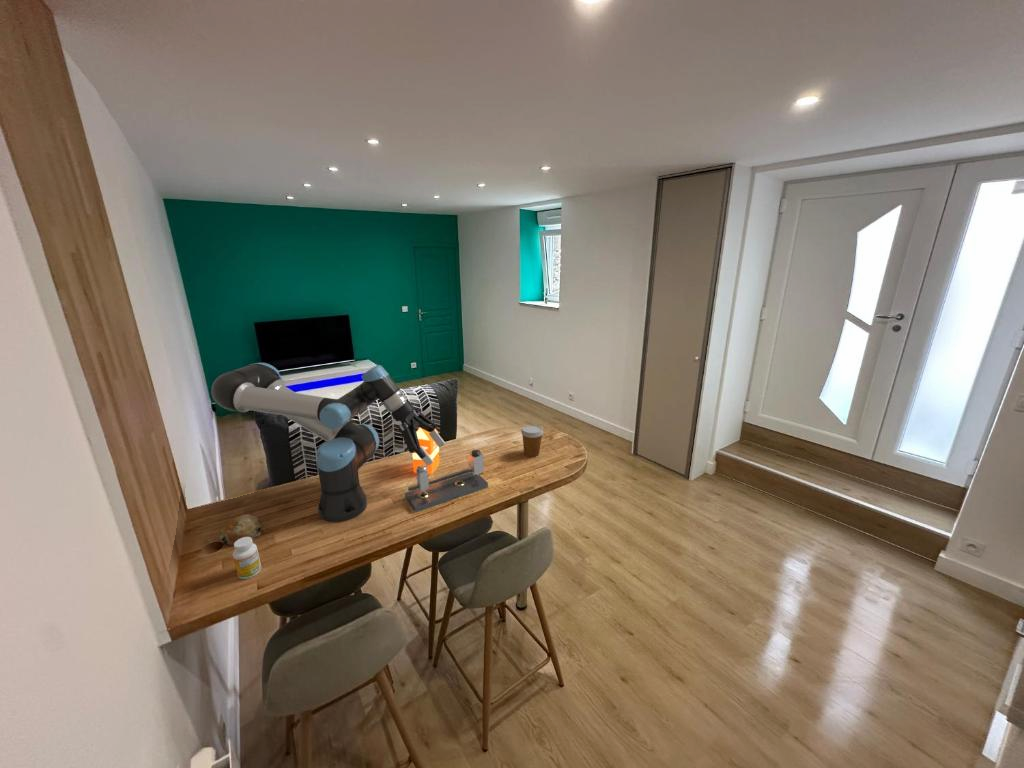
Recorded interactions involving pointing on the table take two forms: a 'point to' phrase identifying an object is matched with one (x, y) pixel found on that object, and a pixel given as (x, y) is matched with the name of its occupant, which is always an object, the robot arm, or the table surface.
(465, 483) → the plate
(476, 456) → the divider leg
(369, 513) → the table surface
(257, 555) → the supplement bottle
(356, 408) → the robot arm
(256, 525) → the bread roll
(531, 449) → the disposable coffee cup
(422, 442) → the orange juice
